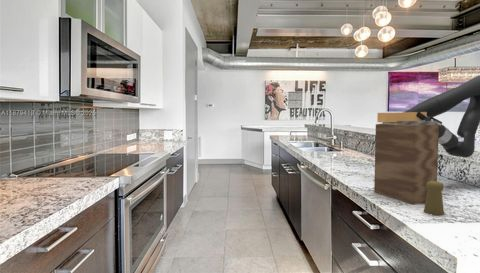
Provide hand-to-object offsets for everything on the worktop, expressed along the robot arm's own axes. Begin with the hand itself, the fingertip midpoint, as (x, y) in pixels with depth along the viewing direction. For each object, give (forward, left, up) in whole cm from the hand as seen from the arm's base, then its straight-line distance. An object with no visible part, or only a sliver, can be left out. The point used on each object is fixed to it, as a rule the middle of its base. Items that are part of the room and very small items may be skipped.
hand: (412, 113), depth 134 cm
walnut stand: (+1, -10, -34) cm, 36 cm away
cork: (+17, -24, -35) cm, 45 cm away
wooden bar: (-2, -5, -3) cm, 7 cm away
